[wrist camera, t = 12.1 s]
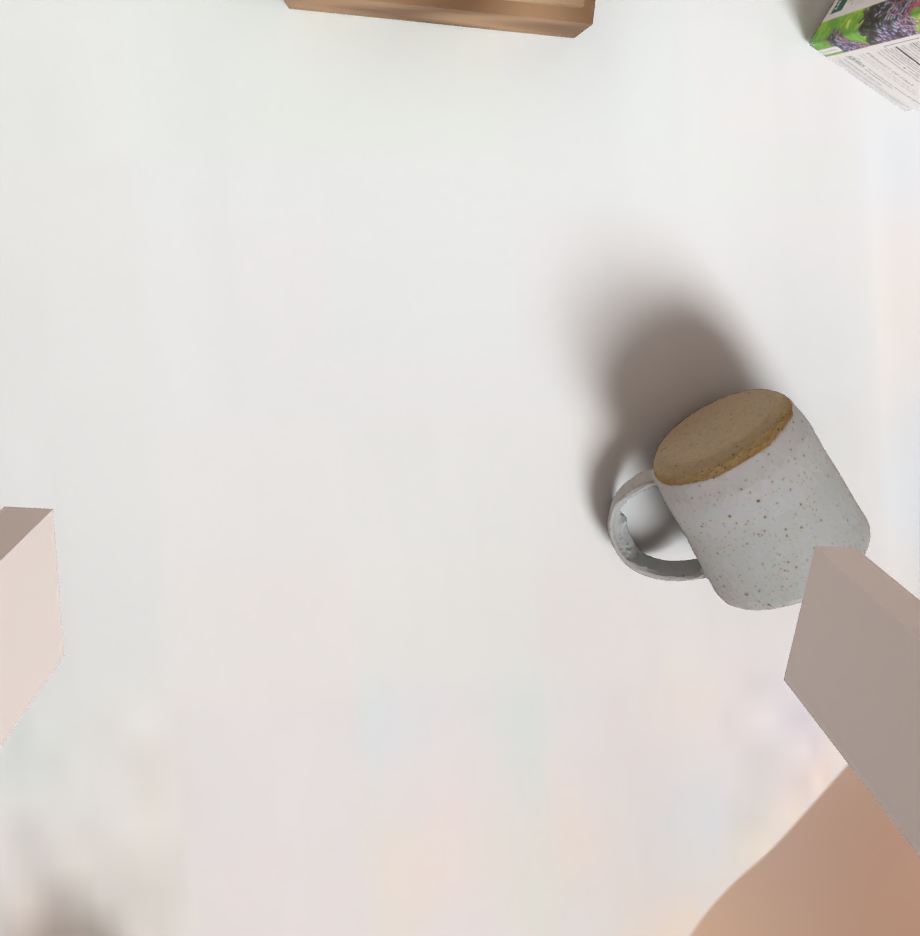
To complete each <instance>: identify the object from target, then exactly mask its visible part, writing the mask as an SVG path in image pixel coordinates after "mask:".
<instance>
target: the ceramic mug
mask: <svg viewBox="0 0 920 936" xmlns="http://www.w3.org/2000/svg"><path fill="white" fill-rule="evenodd" d="M653 486H657V487H659V490H660V492H661V495H662V497H663V499H664V500H665V502H666V504H667V506H668V508H669V510H670V511H671V513H672V515H673V516H674V518H675V519H676V521H677V522H678V524H679V526H680V528H681V529H682V531H683V533H684V534H685V536H686V538H687V540H688V542H689V544H690V546H691V548H692V550H693V552H694V554H695V556H696V557H697V559H692V560H684V561H666V560H661V559H657V558H653V557H651V556H648V555H646V554H644V553H643V552H642V551H641V550H640V549H639V548H637V546H636V545H635V543H634V541H633V539H632V537H631V535H630V533H629V531H628V528H627V526H626V521H627V520H626V517H625V516H624V515H623V514H622V513H621V511H620V510H621V508H622V506H623V505H624V504H625V503H626V501H627V500H628V499H629V498H631V497H633V496H634V495H636V494H637V493H639V492H641V491H643V490H646V489H648V488H650V487H653ZM607 528H608V532H609V537H610V540H611V543H612V545H613V547H614V549H615V551H616V552H617V554H618V555H619V557H620V558H621V559H622V561H623V562H624V563H625V564H626V565H627V566H629V567H630V568H631V569H633V570H634V571H636V572H638V573H640V574H642V575H645V576H648V577H651V578H654V579H660V580H666V581H687V580H695V579H702V578H707V579H709V581H710V583H711V584H712V586H713V588H714V590H715V592H716V593H717V595H718V596H719V597H721V598H722V599H723V600H724V601H725V602H726V603H727V604H729V605H731V606H734V607H737V608H741V609H746V610H769V609H776V608H781V607H785V606H789V605H793V604H797V603H800V602H802V600H803V596H804V591H805V587H806V583H807V579H808V574H809V570H810V566H811V562H812V557H813V553H814V549H815V546H819V547H840V548H856V549H857V550H859V551H860V552H861V553H862V554H863V555H865V553H866V551H867V549H868V546H869V542H870V526H869V523H868V521H867V519H866V517H865V515H864V514H863V512H862V510H861V509H860V507H859V506H858V504H857V503H856V501H855V499H854V498H853V496H852V494H851V492H850V491H849V489H848V487H847V485H846V484H845V482H844V480H843V479H842V477H841V475H840V473H839V472H838V470H837V469H836V467H835V465H834V464H833V462H832V461H831V459H830V458H829V456H828V454H827V453H826V451H825V450H824V448H823V446H822V444H821V442H820V440H819V439H818V437H817V435H816V433H815V431H814V430H813V428H812V426H811V425H810V423H809V422H808V420H807V419H806V418H805V416H804V415H803V414H802V413H801V412H800V411H799V409H798V408H797V407H796V406H795V405H794V403H793V402H792V401H791V400H790V399H789V398H788V397H786V396H785V395H783V394H781V393H779V392H775V391H771V390H765V389H755V390H747V391H743V392H739V393H734V394H731V395H729V396H726V397H723V398H720V399H718V400H717V401H714V402H712V403H710V404H708V405H706V406H704V407H702V408H701V409H699V410H698V411H696V412H695V413H693V414H691V415H690V416H688V417H687V418H686V419H684V420H683V421H682V422H680V423H679V424H678V425H677V426H675V427H674V428H673V429H672V430H671V431H670V432H669V433H668V434H667V435H666V437H665V438H664V439H663V441H662V442H661V444H660V445H659V447H658V449H657V452H656V454H655V458H654V462H653V469H650V470H648V471H644V472H641V473H639V474H637V475H636V476H634V477H633V478H632V479H630V480H629V481H628V482H626V483H625V484H624V485H623V486H622V487H621V488H620V489H619V490H618V492H617V493H616V495H615V497H614V498H613V501H612V504H611V507H610V511H609V515H608V525H607Z"/></svg>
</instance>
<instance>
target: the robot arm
mask: <svg viewBox="0 0 920 936" xmlns="http://www.w3.org/2000/svg"><path fill="white" fill-rule="evenodd" d="M63 657H64V646H63V633H62V620H61V606H60V593H59V579H58V566H57V553H56V539H55V526H54V512H53V509H41V508H20V507H4V508H3V509H1V510H0V748H1V747H2V745H3V744H4V742H5V741H6V739H7V738H8V736H9V735H10V733H11V732H12V731H13V729H14V728H15V726H16V725H17V723H18V722H19V720H20V719H21V718H22V716H23V715H24V713H25V712H26V710H27V709H28V707H29V706H30V704H31V703H32V702H33V700H34V699H35V697H36V696H37V694H38V693H39V691H40V690H41V688H42V687H43V686H44V684H45V683H46V681H47V680H48V678H49V677H50V675H51V674H52V673H53V671H54V670H55V668H56V667H57V665H58V664H59V662H60V661H61V659H62V658H63ZM784 681H785V682H786V683H787V684H788V686H789V687H790V688H791V690H792V691H793V692H794V694H795V695H796V696H797V698H798V699H799V700H800V701H801V703H802V704H803V705H804V707H805V708H806V709H807V711H808V712H809V713H810V714H811V716H812V717H813V718H814V720H815V721H816V722H817V724H818V725H819V726H820V728H821V729H822V730H823V731H824V733H825V734H826V735H827V737H828V738H829V739H830V741H831V742H832V743H833V745H834V746H835V747H836V748H837V750H838V751H839V752H840V754H841V755H842V756H843V758H844V759H845V760H846V761H847V763H848V764H849V765H850V767H851V768H852V769H853V771H854V772H855V773H856V775H857V776H858V777H859V778H860V780H861V781H862V782H863V784H864V785H865V786H866V787H867V789H868V790H869V791H870V793H871V794H872V795H873V797H874V798H875V799H876V801H877V802H878V803H879V804H880V806H881V807H882V808H883V810H884V811H885V812H886V814H887V815H888V816H889V818H890V819H891V820H892V822H893V823H894V824H895V825H896V827H897V828H898V829H899V831H900V832H901V833H902V835H903V836H904V837H905V838H906V840H907V841H908V842H909V844H910V845H911V846H912V848H913V849H914V850H915V852H916V853H917V854H918V855H919V857H920V600H919V599H917V598H916V597H915V596H914V595H913V594H911V593H910V592H909V591H908V590H906V589H905V588H904V587H903V586H901V585H900V584H899V583H898V582H897V581H895V580H894V579H893V578H892V577H890V576H889V575H888V574H887V573H886V572H884V571H883V570H882V569H881V568H879V567H878V566H877V565H876V564H874V563H873V562H872V561H871V560H870V559H868V558H867V557H866V556H865V555H863V554H862V553H861V552H860V551H859V550H857V549H856V548H840V547H819V546H815V549H814V553H813V557H812V562H811V566H810V570H809V574H808V579H807V583H806V587H805V591H804V596H803V600H802V604H801V608H800V613H799V617H798V621H797V625H796V630H795V634H794V638H793V643H792V647H791V651H790V655H789V660H788V664H787V668H786V672H785V677H784Z"/></svg>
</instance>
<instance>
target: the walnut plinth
mask: <svg viewBox="0 0 920 936" xmlns="http://www.w3.org/2000/svg"><path fill="white" fill-rule="evenodd" d="M284 1H285V3H286V4H287V6H288V7H289V8H290V9H300V10H310V11H319V12H329V13H338V14H348V15H358V16H367V17H377V18H386V19H396V20H406V21H415V22H425V23H435V24H444V25H454V26H463V27H473V28H483V29H492V30H502V31H511V32H521V33H531V34H540V35H550V36H560V37H569V38H575V37H576V36H578V35H579V34H580V33H582V32H583V31H584V30H585V29H587V28H588V27H589V26H591V25H592V24H593V16H594V8H595V0H284Z"/></svg>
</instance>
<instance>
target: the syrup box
mask: <svg viewBox="0 0 920 936" xmlns="http://www.w3.org/2000/svg"><path fill="white" fill-rule="evenodd" d="M810 46H812V47H813V48H815V49H816V50H817V51H819V52H820V53H822V54H823V55H825V56H826V57H828V58H829V59H831V60H832V61H833V62H835V63H836V64H838V65H839V66H841V67H842V68H844V69H845V70H846V71H848V72H849V73H851V74H852V75H853V76H855V77H856V78H858V79H859V80H861V81H862V82H864V83H865V84H866V85H868V86H869V87H871V88H872V89H874V90H875V91H877V92H878V93H879V94H881V95H882V96H884V97H885V98H887V99H888V100H889V101H891V102H892V103H894V104H895V105H896V106H898V107H899V108H901V109H902V110H904V111H910V110H919V109H920V0H835V2H834V3H833V5H832V7H831V8H830V10H829V11H828V13H827V15H826V16H825V18H824V19H823V21H822V23H821V24H820V26H819V28H818V29H817V31H816V33H815V34H814V36H813V37H812V39H811V41H810Z"/></svg>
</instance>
